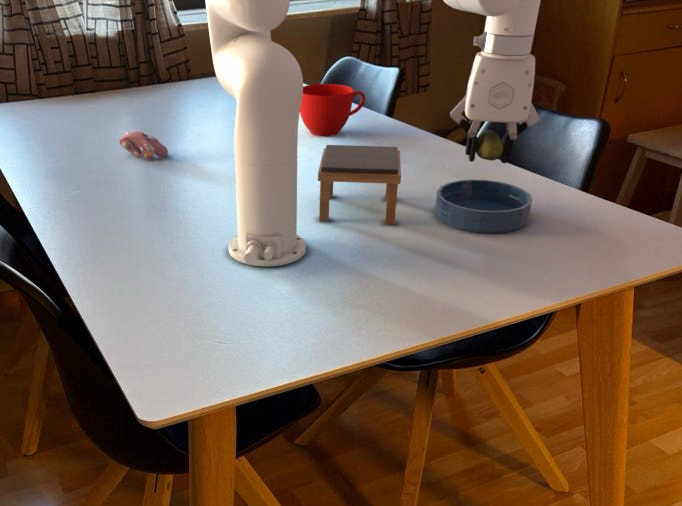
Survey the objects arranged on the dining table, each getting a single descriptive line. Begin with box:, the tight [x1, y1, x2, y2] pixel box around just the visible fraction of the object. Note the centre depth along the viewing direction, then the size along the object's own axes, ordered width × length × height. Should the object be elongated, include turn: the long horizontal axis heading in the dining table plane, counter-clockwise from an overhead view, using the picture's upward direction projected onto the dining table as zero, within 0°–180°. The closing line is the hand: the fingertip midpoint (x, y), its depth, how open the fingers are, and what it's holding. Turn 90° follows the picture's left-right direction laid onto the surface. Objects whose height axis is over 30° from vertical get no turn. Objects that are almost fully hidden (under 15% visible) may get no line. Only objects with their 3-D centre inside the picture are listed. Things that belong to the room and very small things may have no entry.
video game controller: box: [119, 131, 169, 160], centre depth 158 cm, size 10×5×7 cm, turn 62°
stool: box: [317, 144, 402, 225], centre depth 130 cm, size 14×14×10 cm
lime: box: [475, 129, 504, 162], centre depth 122 cm, size 4×5×5 cm
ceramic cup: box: [299, 83, 366, 138], centre depth 172 cm, size 13×17×10 cm
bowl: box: [434, 178, 533, 234], centre depth 128 cm, size 16×16×4 cm
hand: (486, 159), depth 123 cm, fingers closed on lime, 4 cm apart
